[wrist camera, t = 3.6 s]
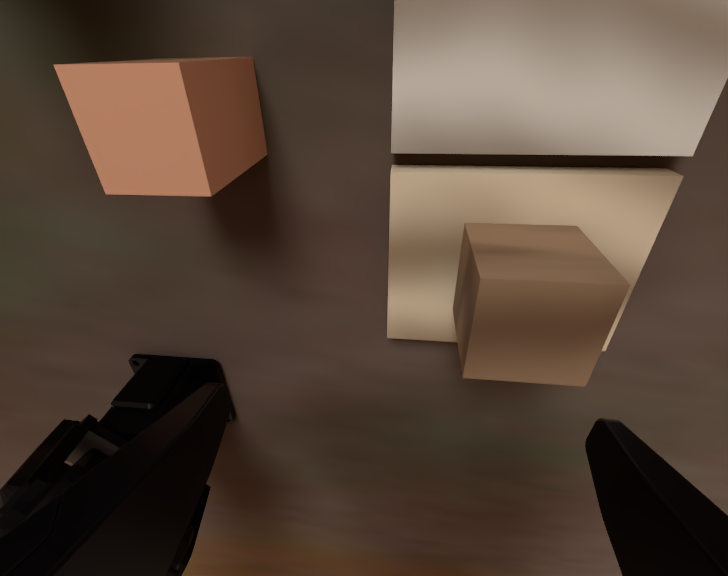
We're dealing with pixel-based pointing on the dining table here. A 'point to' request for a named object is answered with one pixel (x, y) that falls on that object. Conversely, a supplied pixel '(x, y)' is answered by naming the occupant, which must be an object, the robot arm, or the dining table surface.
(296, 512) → the dining table surface
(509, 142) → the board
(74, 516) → the robot arm
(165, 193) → the salmon orange block
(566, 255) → the walnut block
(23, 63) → the dining table surface
